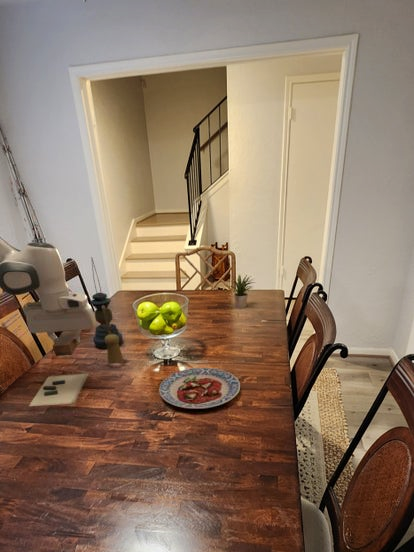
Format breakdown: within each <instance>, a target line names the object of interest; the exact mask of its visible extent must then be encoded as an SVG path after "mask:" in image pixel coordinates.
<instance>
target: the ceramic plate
mask: <svg viewBox="0 0 414 552" xmlns="http://www.w3.org/2000/svg"><path fill="white" fill-rule="evenodd" d="M240 389H241V382H240V381H239V379H238V377H236V376H235V375H233V373H230V372H228V371H226V370H223V369H220V368H214V367H193V368H188V369H184V370H180V371H177V372H175V373H173V374H170V375H169V376H167V377H166V378H165V379H163V380H162V382H161V383H160V384H159V387H158V392H159V395H160V397H161V399H163V400H164V401H165V402H166V403H168V404H170V405H172V406H175V407H178V408H183V409H191V410H198V409H209V408H210V409H211V408H214V407H215V408H216V407H217V406H221V405H224V404H226V403H228V402H230V401H232V400H233V399H234V398H235V397H236V396H237V395H239V392H240Z"/></svg>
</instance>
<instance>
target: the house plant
mask: <svg viewBox="0 0 414 552" xmlns="http://www.w3.org/2000/svg"><path fill="white" fill-rule="evenodd" d="M247 276H248V274H246V275H245V276H244V278H243V279H242V277H241V274H238V276H237V278H236V279H235V278H232V277H231V279H232V282H233V283H234V285H235V286H234V285H230V286H229V288H232V289H233V297H234V302H235V303H234V304H235V307H236V308H238V309H244V308H246V307H247V302H248V296H249V295H248V294H249V293H247V292H250V289H252V288H253V285H251V284H255V283H256V281H254V278H251V277H252V276H251V275H250V276H248V277H247ZM250 278H251V279H250ZM236 280H237V281H236Z"/></svg>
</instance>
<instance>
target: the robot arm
mask: <svg viewBox="0 0 414 552" xmlns="http://www.w3.org/2000/svg"><path fill="white" fill-rule="evenodd" d="M0 289H1V291H3V292H5V293H6V294H9V295H12V296H20V295H24V294H28V293H30V292H34V291H36V293H37V296H38V299H39V301H29V302H26V303H25V304H24V305H23V306H22V310H23V314H24V316H25V317H26V318H25V319H26V325H27V329H28V331H29V332H30V333H31V334H41V333H42V334H43V333H46V334H47V336H48V337H49V338H50V339H51V340H52V342H53V344H54V343H55V342H56V341H57V339H58V338H59V337H56V335H55V334H54V333H56V332H57V333H58V332H64V331H75V333H77V336H76V337H74V338H73V340H74V343H79V344H80V342H81V341H80V339H81V334H82V331H83V330H84V331H85V330H86V331H87V330H93V329H94V328H96V325H97V321H96V318H95V311H94V310H93V308H92V307H93V306H91V304H89V303H88V296H87V295H86V294H85V293H84V294H83V293H79V292H75V291H71V290H70V288H69V285H68V284H67V282H66V271H65V268H64V264H63V260H62V257H61V255H60V253H59V250H58V249H57V247H56V246H55V245H53V244H51V243H48V242H40V241H39V242H38V241H36V242H29V243H27V244H26V245H25V247H23V248H22V249H21V250H20V249H18V248H16V247H14V246H12V245H11V244H9V243H8V242H7V241H6V240H4V239H3V238H2V237H1V236H0ZM79 336H80V338H79Z"/></svg>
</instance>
